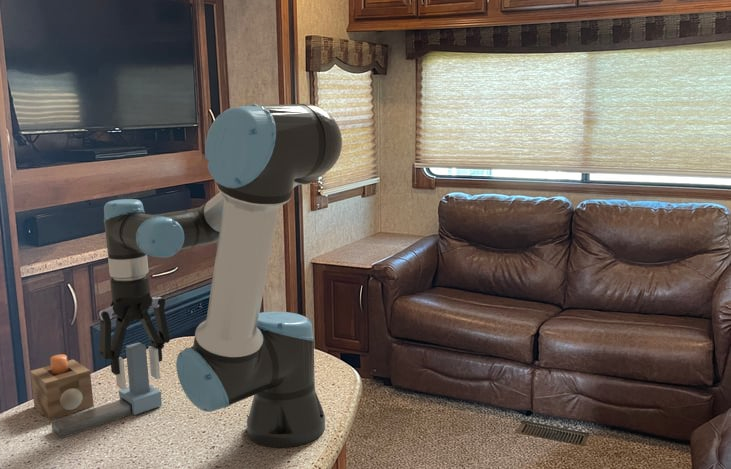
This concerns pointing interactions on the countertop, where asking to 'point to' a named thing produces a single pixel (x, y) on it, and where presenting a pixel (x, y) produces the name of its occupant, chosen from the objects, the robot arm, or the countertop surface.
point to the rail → (91, 418)
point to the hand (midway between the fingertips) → (138, 381)
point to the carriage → (139, 381)
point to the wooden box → (62, 390)
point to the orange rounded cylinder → (59, 364)
